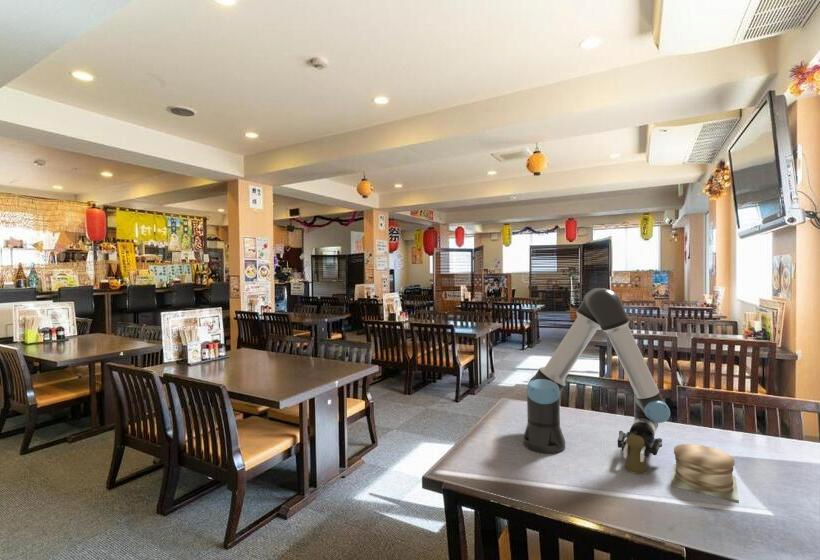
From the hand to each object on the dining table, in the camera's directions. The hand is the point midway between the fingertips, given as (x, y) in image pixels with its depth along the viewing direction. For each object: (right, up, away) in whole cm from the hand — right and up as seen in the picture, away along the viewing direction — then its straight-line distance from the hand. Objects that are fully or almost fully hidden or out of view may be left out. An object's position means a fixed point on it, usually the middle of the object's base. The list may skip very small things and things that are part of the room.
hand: (633, 455), depth 130 cm
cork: (+3, -7, +4) cm, 9 cm away
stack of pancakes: (+19, -6, -5) cm, 21 cm away
